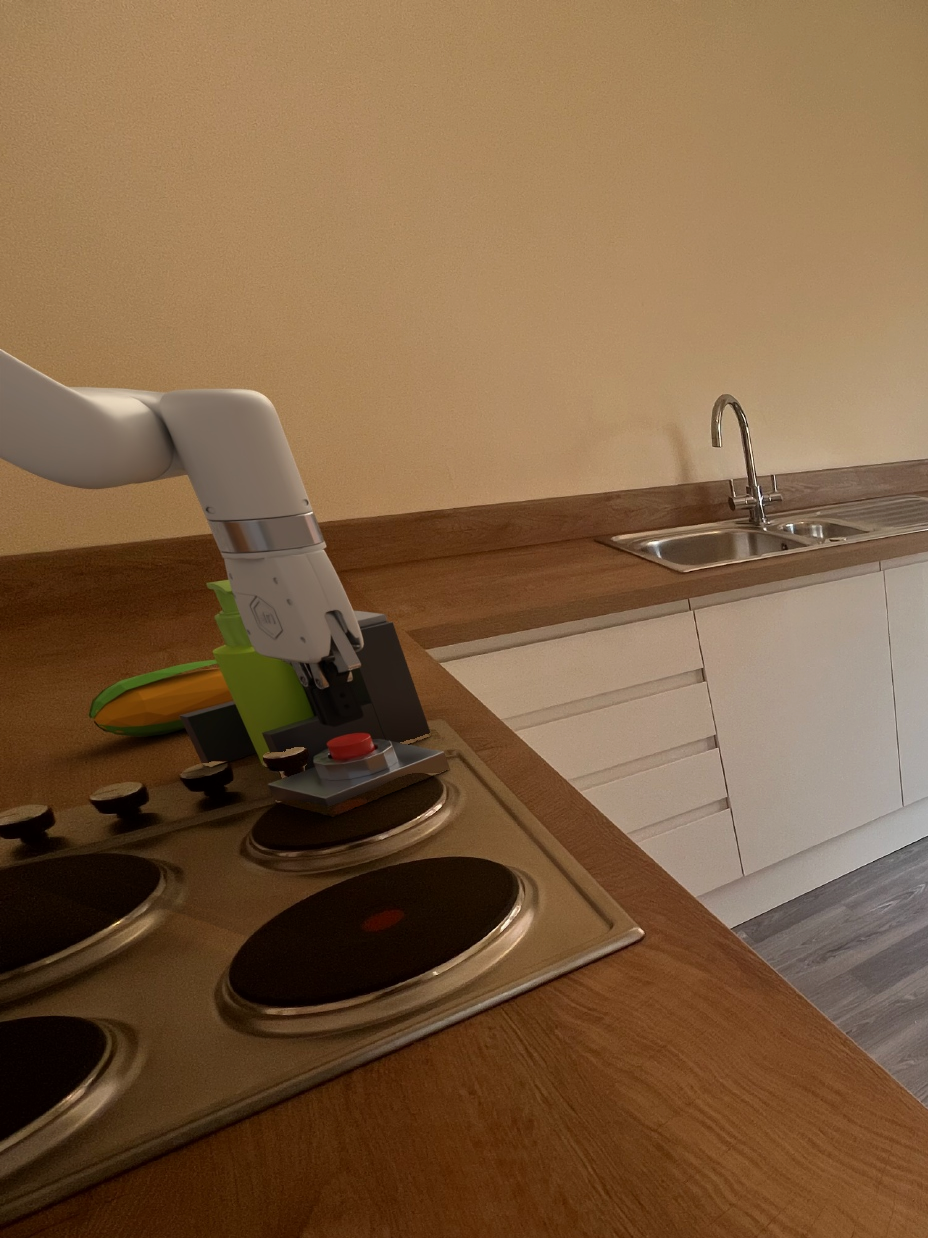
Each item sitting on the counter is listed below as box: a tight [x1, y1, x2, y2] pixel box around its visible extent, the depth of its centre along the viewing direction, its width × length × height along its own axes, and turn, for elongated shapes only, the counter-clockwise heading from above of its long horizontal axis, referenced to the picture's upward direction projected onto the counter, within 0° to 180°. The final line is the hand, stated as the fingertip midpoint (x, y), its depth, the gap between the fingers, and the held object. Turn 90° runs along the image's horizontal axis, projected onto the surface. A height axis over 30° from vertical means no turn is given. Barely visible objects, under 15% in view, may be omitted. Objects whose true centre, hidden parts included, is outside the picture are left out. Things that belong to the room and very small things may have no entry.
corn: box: [88, 659, 234, 738], centre depth 105 cm, size 7×8×20 cm
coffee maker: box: [180, 609, 431, 770], centre depth 94 cm, size 15×16×15 cm
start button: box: [327, 733, 376, 760], centre depth 86 cm, size 4×4×2 cm
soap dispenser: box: [205, 579, 315, 766], centre depth 91 cm, size 6×7×20 cm
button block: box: [267, 739, 451, 806], centre depth 87 cm, size 12×9×4 cm
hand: (343, 721), depth 85 cm, fingers closed
